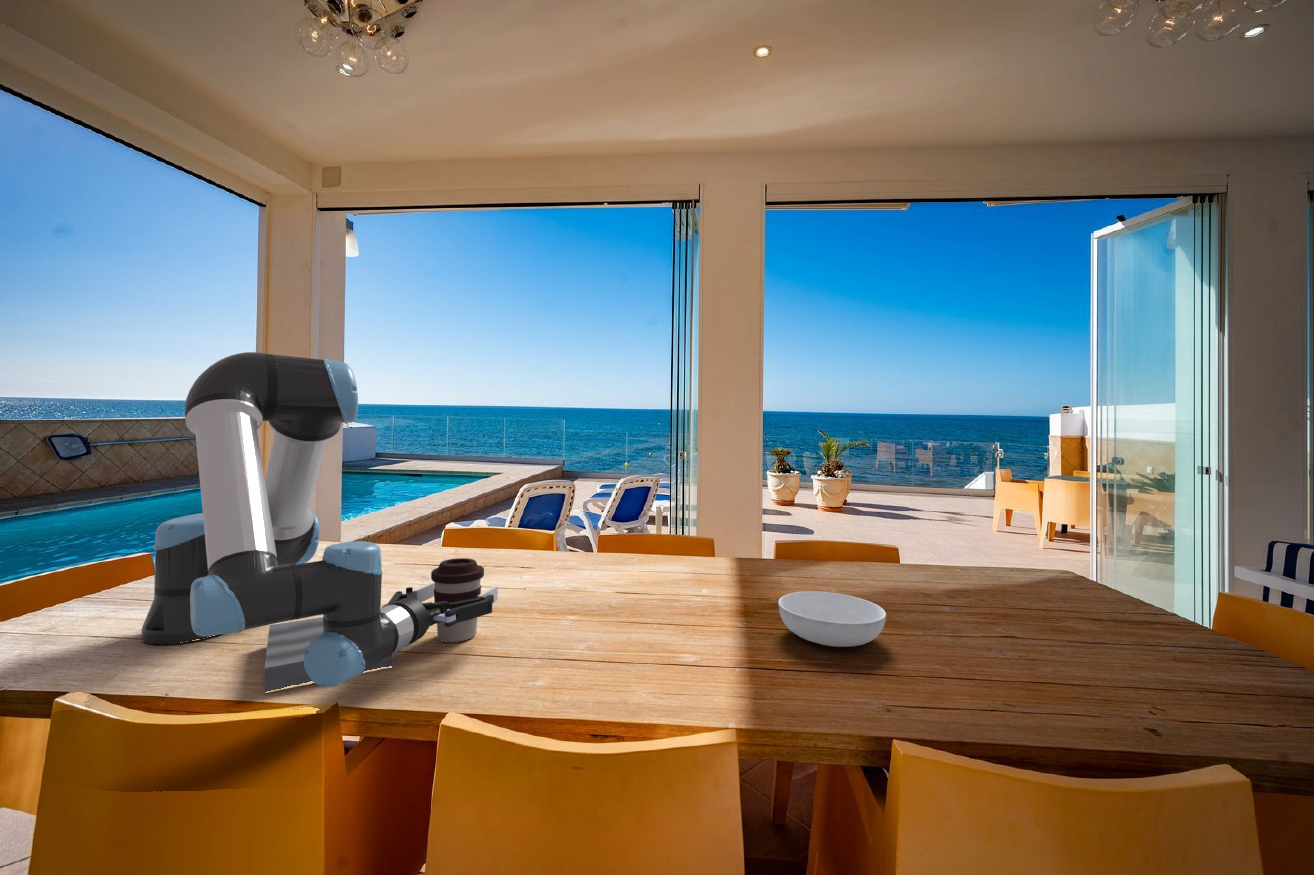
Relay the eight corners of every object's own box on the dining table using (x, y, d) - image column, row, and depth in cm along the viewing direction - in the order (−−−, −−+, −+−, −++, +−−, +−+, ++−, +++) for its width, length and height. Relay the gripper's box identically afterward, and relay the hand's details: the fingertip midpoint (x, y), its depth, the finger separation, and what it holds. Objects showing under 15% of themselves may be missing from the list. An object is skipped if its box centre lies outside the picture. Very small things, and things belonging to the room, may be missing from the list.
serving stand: (269, 646, 102) (269, 625, 102) (376, 628, 112) (376, 609, 112) (264, 694, 84) (264, 668, 84) (392, 667, 94) (392, 644, 94)
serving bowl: (896, 665, 99) (897, 627, 99) (778, 654, 103) (779, 617, 103) (874, 625, 119) (875, 594, 119) (776, 617, 123) (777, 587, 123)
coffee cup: (472, 646, 104) (473, 568, 104) (421, 645, 104) (422, 567, 104) (489, 628, 114) (490, 556, 113) (442, 627, 114) (443, 555, 114)
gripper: (331, 642, 93) (410, 604, 114) (463, 656, 88) (521, 614, 109) (331, 598, 93) (411, 568, 114) (464, 610, 88) (522, 576, 109)
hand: (465, 590), depth 111 cm, fingers open, 13 cm apart
